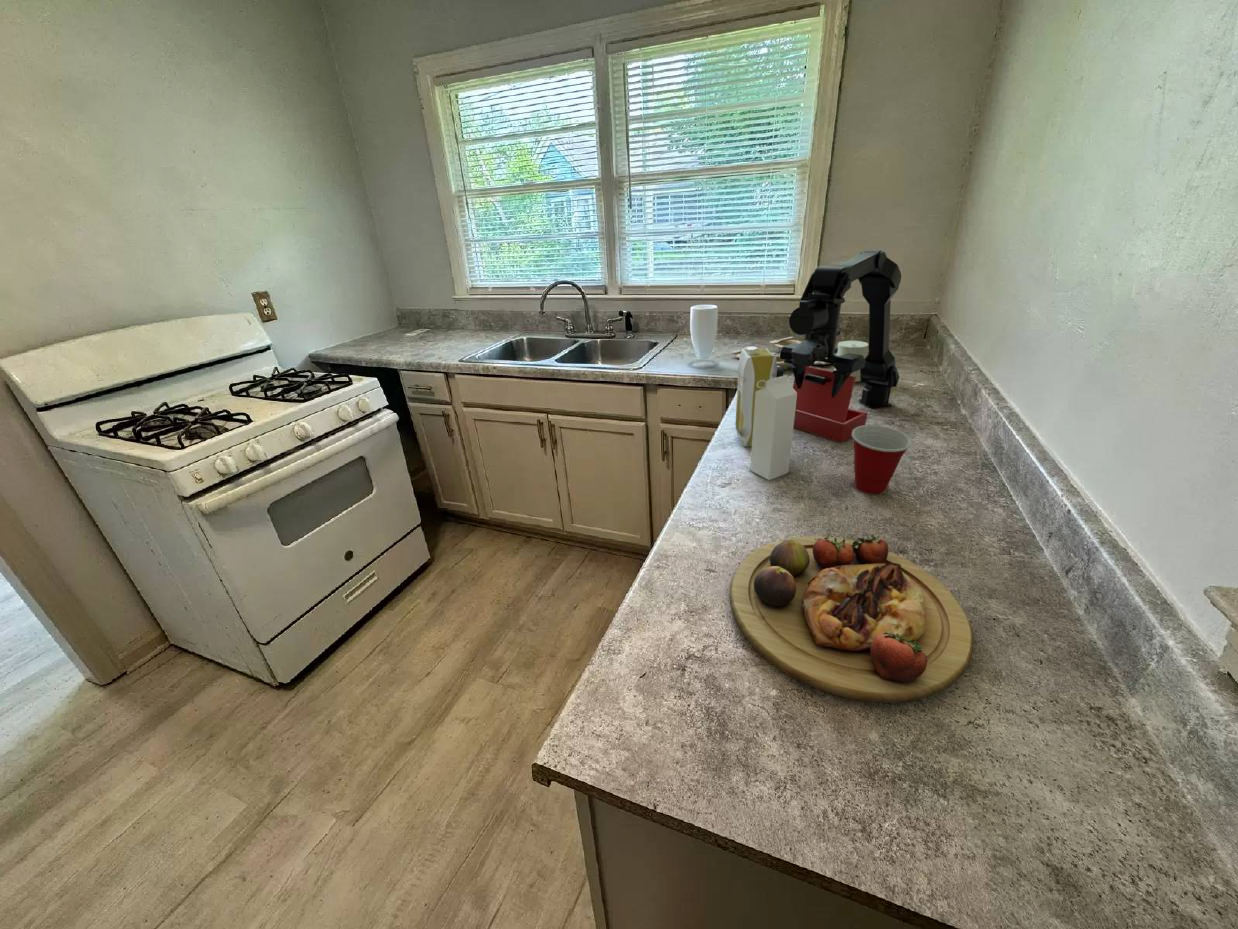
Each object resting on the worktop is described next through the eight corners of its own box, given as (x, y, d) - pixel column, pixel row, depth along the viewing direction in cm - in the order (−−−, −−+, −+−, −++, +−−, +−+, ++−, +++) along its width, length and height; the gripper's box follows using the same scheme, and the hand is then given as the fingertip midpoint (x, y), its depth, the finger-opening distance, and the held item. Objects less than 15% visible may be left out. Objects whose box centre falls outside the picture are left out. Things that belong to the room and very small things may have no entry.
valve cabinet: (811, 415, 139) (813, 398, 137) (864, 430, 128) (867, 413, 126) (787, 425, 134) (789, 408, 132) (841, 442, 122) (843, 424, 120)
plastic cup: (876, 507, 96) (887, 451, 91) (831, 484, 105) (839, 432, 99) (912, 491, 100) (925, 437, 95) (866, 470, 109) (876, 420, 104)
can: (832, 381, 163) (837, 345, 158) (833, 373, 171) (838, 338, 166) (863, 383, 160) (869, 346, 155) (862, 374, 168) (868, 339, 162)
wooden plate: (1022, 723, 56) (1046, 672, 52) (733, 694, 61) (736, 646, 57) (917, 550, 84) (928, 509, 80) (726, 541, 89) (728, 502, 85)
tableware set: (725, 355, 200) (726, 345, 198) (784, 344, 209) (785, 334, 208) (783, 376, 171) (784, 365, 169) (848, 363, 180) (849, 352, 178)
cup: (720, 362, 192) (722, 304, 182) (710, 369, 184) (711, 309, 174) (696, 359, 197) (696, 303, 187) (684, 366, 189) (684, 308, 179)
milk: (788, 473, 110) (800, 378, 100) (768, 480, 108) (778, 384, 98) (768, 463, 115) (777, 371, 105) (749, 470, 113) (756, 376, 102)
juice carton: (733, 433, 131) (737, 343, 120) (762, 432, 131) (769, 341, 120) (741, 448, 123) (746, 353, 112) (773, 446, 122) (781, 351, 112)
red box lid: (799, 364, 127) (787, 365, 125) (856, 376, 116) (845, 377, 113) (790, 407, 132) (779, 409, 129) (845, 422, 120) (834, 425, 117)
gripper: (767, 327, 113) (762, 392, 120) (842, 339, 100) (831, 411, 107) (797, 319, 119) (790, 381, 126) (872, 329, 105) (860, 398, 113)
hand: (815, 392), depth 118 cm, fingers open, 9 cm apart
